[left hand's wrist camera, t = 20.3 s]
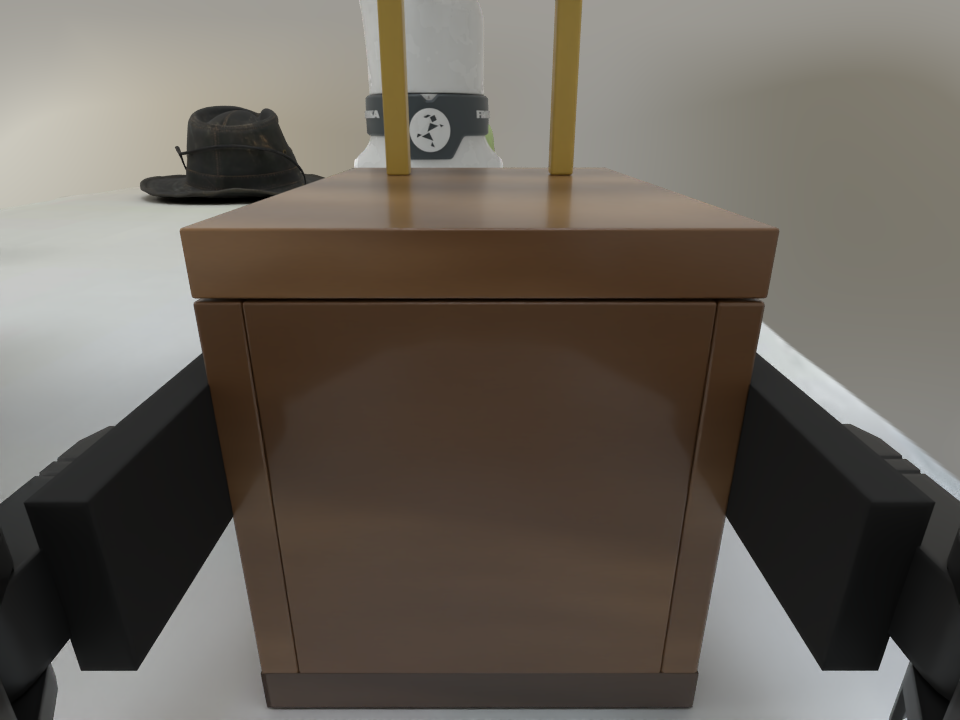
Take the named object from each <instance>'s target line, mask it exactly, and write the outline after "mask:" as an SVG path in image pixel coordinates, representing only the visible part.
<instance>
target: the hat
mask: <svg viewBox="0 0 960 720" xmlns="http://www.w3.org/2000/svg"><path fill="white" fill-rule="evenodd" d="M175 148H176V151H177V152H178V154H179V156H180V158H181V160H182V163H183V165H184V167H185V169H186V175H171V176H156V177H150V178H146V179H144V180H143V181H141V183H140V188H141V190H142V191H144V192H146V193H148V194H150V195H153V196H161V197H206V198H245V197H272V196H275V195H278V194H281V193H284V192H286V191H289V190H292V189H295V188H298V187H301V186H304V185H306V184H309V183H312V182H315V181H318V180H321V179H324V177H321V176H318V175H313V174H304V172H303V170H302V169H301V167H300V166H299V165H298V163H297V161H296V159H295V156H294V154H293V152H292V150H291V148H290V147H289V146H288V144H287V142H286V140H285V138H284V136H283V134H282V131H281V129H280V127H279V124H278V117H277V115H276V114H275V113H274V112H273V111H272V110H270V109H263V110H262V111H261V113H255V112H253V111H250V110H247V109H244V108H241V107H235V106H213V107H206V108H203V109H200V110H197V111H196V112H194V113H193V114H192V115H191V117H190V119H189V121H188V133H187V151H186V152H181V151H180V148H179V147H178V146H176V147H175ZM186 154H187V167H186V166H185V164H184V161H183V158H182V155H186ZM300 171H301V172H300Z"/></svg>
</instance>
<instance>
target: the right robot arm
mask: <svg viewBox="0 0 960 720" xmlns="http://www.w3.org/2000/svg"><path fill="white" fill-rule="evenodd" d="M359 3H360V8H361V13H362V20H363V28H364V35H365V44H366V53H367V64H368V77H369V90H370V95H369V96H367V97H366V111H365V118H366V121H367V133H368V134H369V135H371V138H370V141H369V144H368V146H367V147H366V149H365V150H364V151H363V152H362V153H361V154H360V155H359V157H358V158H357V159H355V162H354V168H386V153H385V135H384V118H383V100H382V82H381V64H380V46H379V28H378V10H377V0H359ZM404 12H405V37H406V61H407V85H408V109H409V134H410V158H411V168H503V162H502V159H501V158H500V157H499V156H498V155H497V154H496V153H495V152H494V151H493V150H492V149H491V148H490V146H489V144H488V142H487V140H486V138H485V135H487V134H488V118H489V111H488V98H487V97H486V96H484V16H483V12H482V9H481V6H480V3H479V1H478V0H404Z"/></svg>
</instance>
